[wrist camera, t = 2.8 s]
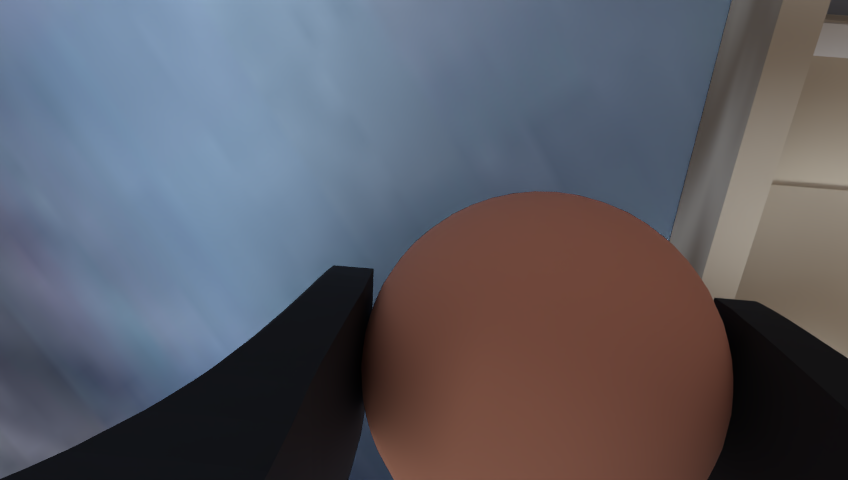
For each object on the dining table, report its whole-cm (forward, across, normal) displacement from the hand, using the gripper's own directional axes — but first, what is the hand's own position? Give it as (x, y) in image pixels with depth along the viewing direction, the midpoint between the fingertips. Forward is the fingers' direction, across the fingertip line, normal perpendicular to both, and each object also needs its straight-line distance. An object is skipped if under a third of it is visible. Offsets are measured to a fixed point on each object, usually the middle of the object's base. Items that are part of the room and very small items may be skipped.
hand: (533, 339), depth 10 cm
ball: (-1, 0, 0) cm, 1 cm away
